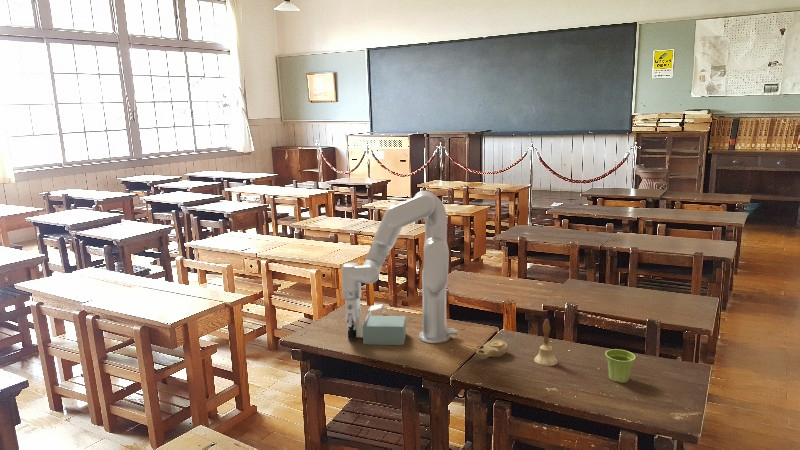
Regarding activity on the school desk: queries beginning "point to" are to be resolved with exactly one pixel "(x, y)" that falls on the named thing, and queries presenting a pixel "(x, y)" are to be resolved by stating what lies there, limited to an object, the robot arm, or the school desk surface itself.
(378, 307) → the white scroll-footed stand
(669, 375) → the school desk surface
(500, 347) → the oil lamp
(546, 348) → the hand bell
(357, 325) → the pink-banded cream bar
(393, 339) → the block
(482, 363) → the school desk surface
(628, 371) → the plant pot
